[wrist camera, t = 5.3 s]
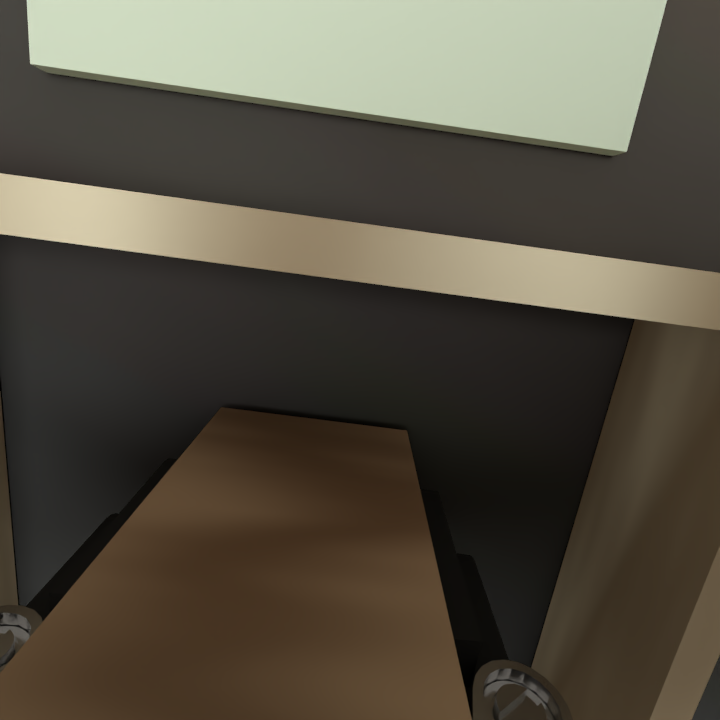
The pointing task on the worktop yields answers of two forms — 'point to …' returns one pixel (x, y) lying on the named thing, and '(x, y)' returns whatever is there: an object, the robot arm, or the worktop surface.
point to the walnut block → (257, 590)
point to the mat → (378, 59)
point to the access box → (615, 446)
